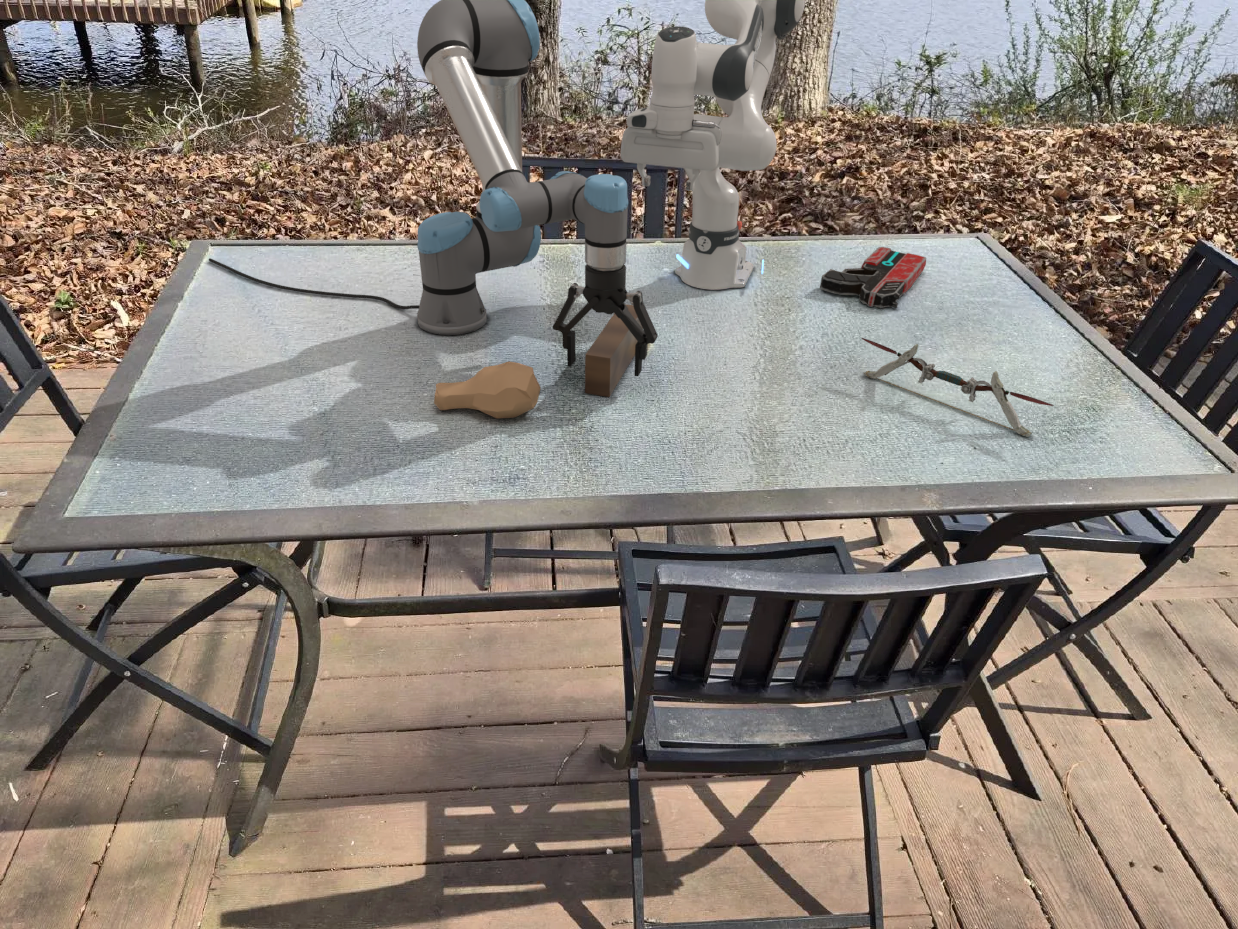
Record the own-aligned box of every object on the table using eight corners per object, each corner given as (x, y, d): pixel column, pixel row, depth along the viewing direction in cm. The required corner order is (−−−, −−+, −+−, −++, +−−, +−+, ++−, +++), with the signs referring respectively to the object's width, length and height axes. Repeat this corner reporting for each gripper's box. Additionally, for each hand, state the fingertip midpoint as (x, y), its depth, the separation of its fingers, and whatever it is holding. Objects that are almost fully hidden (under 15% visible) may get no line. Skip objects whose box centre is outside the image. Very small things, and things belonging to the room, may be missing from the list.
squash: (542, 425, 161) (533, 386, 155) (435, 433, 163) (423, 395, 156) (546, 387, 169) (538, 350, 163) (444, 396, 170) (432, 359, 164)
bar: (609, 397, 170) (610, 358, 165) (584, 393, 171) (585, 354, 166) (642, 342, 191) (644, 306, 186) (620, 339, 192) (621, 303, 187)
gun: (818, 277, 212) (896, 296, 205) (859, 239, 234) (931, 255, 227) (815, 294, 215) (892, 314, 207) (855, 255, 237) (927, 271, 229)
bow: (1043, 439, 161) (1060, 391, 155) (1040, 443, 160) (1056, 395, 154) (857, 369, 182) (866, 325, 177) (852, 372, 181) (861, 327, 175)
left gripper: (676, 264, 160) (670, 368, 172) (548, 249, 166) (550, 351, 177) (667, 279, 154) (661, 386, 166) (534, 263, 160) (537, 367, 171)
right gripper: (725, 119, 176) (719, 188, 184) (627, 110, 180) (625, 178, 188) (719, 125, 171) (713, 196, 179) (619, 116, 175) (617, 186, 183)
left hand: (604, 368), depth 172 cm, fingers open, 13 cm apart
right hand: (667, 187), depth 183 cm, fingers open, 8 cm apart
